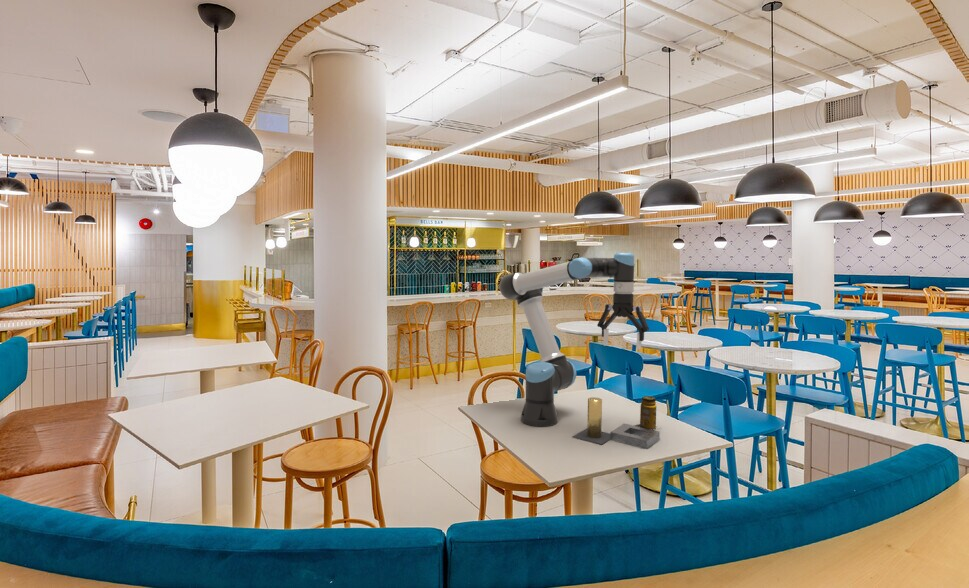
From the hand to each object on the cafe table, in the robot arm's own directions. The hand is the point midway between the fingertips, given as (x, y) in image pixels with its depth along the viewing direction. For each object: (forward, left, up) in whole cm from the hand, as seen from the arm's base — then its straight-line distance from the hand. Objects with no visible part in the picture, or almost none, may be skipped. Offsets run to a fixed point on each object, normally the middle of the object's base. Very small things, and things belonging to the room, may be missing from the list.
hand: (622, 347), depth 193 cm
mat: (-4, -14, -33) cm, 36 cm away
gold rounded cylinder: (-4, -14, -32) cm, 35 cm away
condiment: (+7, +9, -33) cm, 35 cm away
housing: (+9, -7, -33) cm, 35 cm away
